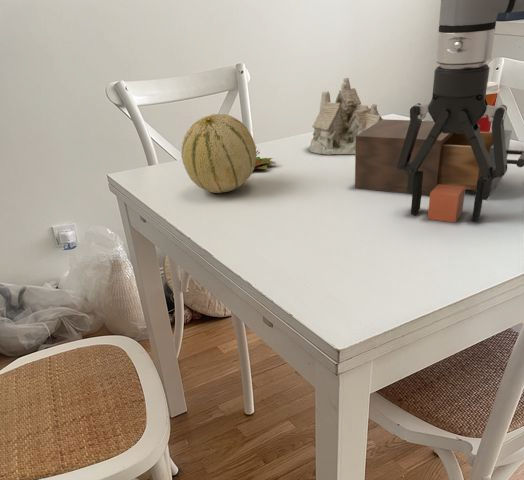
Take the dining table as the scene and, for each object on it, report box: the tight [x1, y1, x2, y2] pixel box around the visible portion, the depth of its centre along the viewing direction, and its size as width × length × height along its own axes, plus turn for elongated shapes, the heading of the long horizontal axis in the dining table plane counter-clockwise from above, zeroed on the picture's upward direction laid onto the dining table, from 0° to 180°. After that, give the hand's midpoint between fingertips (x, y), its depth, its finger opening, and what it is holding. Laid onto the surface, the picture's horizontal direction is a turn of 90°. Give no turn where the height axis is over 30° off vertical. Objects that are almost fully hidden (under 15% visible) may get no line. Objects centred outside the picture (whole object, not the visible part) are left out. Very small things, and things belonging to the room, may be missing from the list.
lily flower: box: [254, 144, 277, 170], centre depth 122 cm, size 12×12×5 cm
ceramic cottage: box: [309, 77, 383, 155], centre depth 126 cm, size 16×16×15 cm
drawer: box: [438, 129, 524, 194], centre depth 98 cm, size 19×13×8 cm, turn 60°
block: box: [427, 184, 466, 223], centre depth 89 cm, size 4×4×4 cm
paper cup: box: [477, 81, 501, 132], centre depth 114 cm, size 8×8×14 cm
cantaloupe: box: [180, 113, 257, 194], centre depth 106 cm, size 15×15×15 cm
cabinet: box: [354, 118, 454, 196], centre depth 104 cm, size 16×14×10 cm
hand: (444, 214), depth 90 cm, fingers open, 9 cm apart
